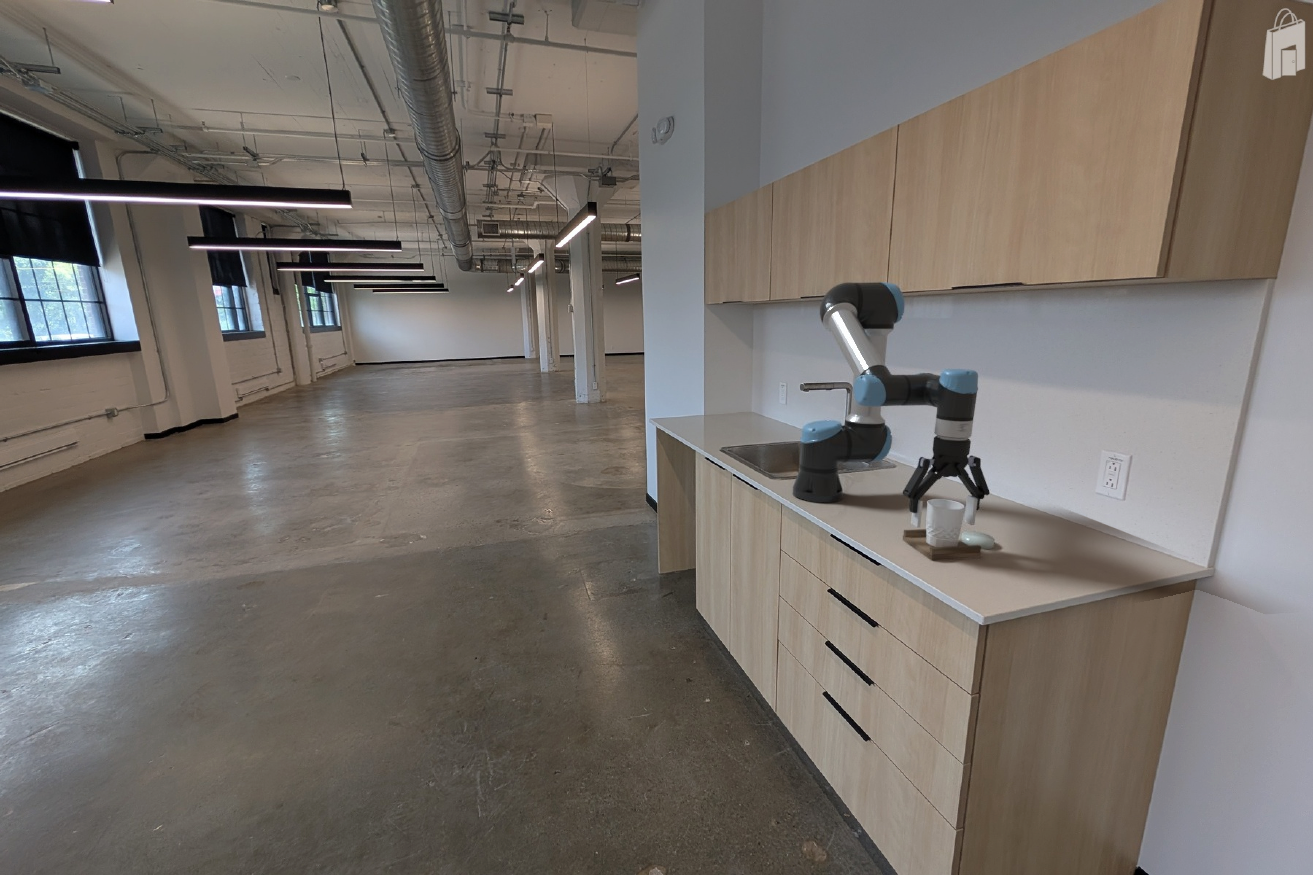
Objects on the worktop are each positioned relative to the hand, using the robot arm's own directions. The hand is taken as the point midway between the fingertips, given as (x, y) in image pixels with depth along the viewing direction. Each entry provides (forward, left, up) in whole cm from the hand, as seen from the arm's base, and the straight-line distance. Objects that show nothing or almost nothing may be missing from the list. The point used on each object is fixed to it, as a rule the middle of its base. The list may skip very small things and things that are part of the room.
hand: (942, 524), depth 128 cm
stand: (0, 0, -6) cm, 6 cm away
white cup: (0, 0, -5) cm, 5 cm away
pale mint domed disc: (-2, +11, -6) cm, 13 cm away
